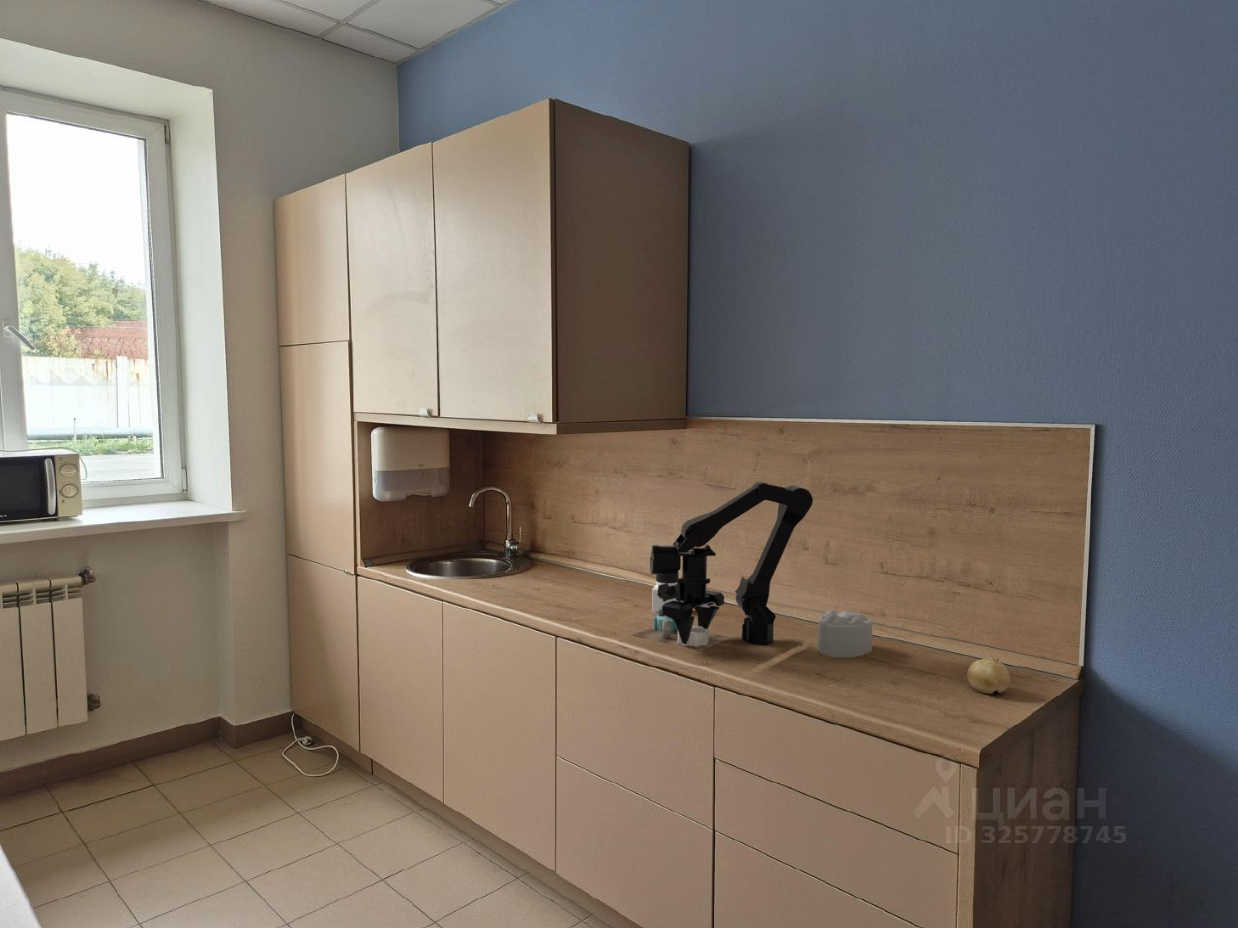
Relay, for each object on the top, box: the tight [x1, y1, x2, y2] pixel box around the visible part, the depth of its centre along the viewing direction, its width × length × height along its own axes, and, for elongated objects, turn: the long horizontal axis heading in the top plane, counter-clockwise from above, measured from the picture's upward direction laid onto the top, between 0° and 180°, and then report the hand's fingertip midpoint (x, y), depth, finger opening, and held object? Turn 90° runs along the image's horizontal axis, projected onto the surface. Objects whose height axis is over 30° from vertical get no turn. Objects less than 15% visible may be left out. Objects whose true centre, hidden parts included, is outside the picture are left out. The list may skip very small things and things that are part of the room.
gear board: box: [630, 616, 732, 652], centre depth 204 cm, size 20×14×5 cm
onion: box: [966, 653, 1011, 695], centre depth 171 cm, size 8×8×7 cm
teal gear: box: [652, 609, 678, 633], centre depth 211 cm, size 7×7×5 cm
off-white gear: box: [678, 625, 710, 647], centre depth 199 cm, size 7×7×3 cm
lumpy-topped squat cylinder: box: [817, 610, 873, 658], centre depth 198 cm, size 10×13×9 cm
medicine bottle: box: [651, 571, 683, 613], centre depth 231 cm, size 7×7×12 cm
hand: (693, 640), depth 200 cm, fingers closed on off-white gear, 7 cm apart
